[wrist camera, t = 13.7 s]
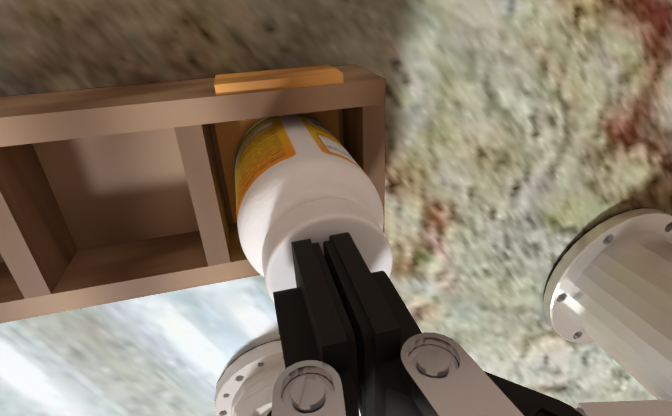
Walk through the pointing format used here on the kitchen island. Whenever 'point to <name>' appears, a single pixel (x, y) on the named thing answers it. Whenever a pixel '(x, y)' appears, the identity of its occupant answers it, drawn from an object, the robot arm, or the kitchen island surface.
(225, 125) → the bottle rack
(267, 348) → the mechanical component
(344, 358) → the robot arm
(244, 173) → the supplement bottle
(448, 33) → the kitchen island surface
